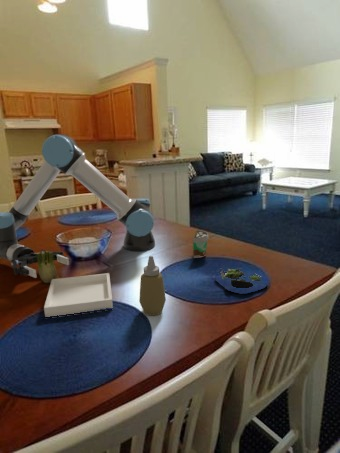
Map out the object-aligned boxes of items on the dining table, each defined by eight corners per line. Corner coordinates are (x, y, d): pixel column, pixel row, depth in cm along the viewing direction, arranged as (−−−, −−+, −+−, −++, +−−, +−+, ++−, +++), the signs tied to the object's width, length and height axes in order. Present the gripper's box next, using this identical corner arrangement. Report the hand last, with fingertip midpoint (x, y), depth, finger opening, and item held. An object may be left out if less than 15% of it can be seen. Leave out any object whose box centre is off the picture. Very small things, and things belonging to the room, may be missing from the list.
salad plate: (201, 277, 123) (201, 266, 122) (239, 268, 130) (240, 257, 129) (232, 300, 106) (233, 287, 105) (274, 288, 114) (275, 276, 112)
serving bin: (109, 281, 120) (109, 273, 119) (112, 309, 101) (112, 299, 100) (53, 288, 116) (51, 279, 115) (45, 318, 97) (43, 307, 96)
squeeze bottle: (139, 304, 103) (137, 252, 98) (165, 303, 104) (163, 251, 99) (139, 319, 96) (136, 262, 91) (167, 317, 96) (165, 261, 91)
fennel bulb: (38, 283, 120) (34, 252, 116) (47, 277, 124) (43, 248, 121) (50, 285, 118) (46, 254, 114) (60, 280, 122) (56, 250, 119)
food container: (207, 261, 137) (207, 238, 134) (192, 260, 138) (193, 238, 135) (209, 250, 149) (210, 230, 146) (196, 250, 150) (196, 229, 147)
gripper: (49, 254, 140) (81, 265, 128) (-9, 274, 121) (21, 290, 109) (47, 238, 138) (79, 248, 125) (-13, 255, 119) (17, 269, 107)
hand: (52, 267), depth 117 cm, fingers open, 13 cm apart
